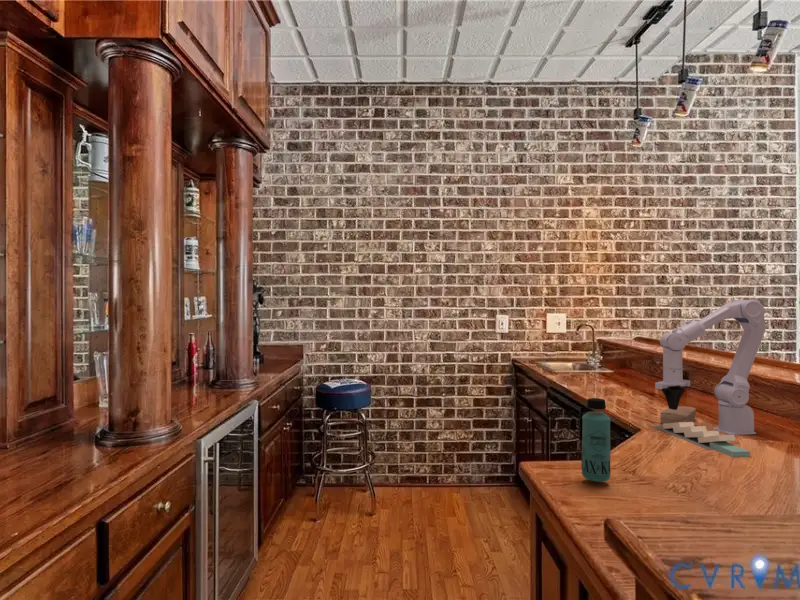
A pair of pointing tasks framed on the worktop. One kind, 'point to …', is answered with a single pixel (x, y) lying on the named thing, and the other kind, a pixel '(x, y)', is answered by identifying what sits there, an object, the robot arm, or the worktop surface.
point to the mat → (682, 436)
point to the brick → (678, 415)
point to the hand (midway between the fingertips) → (673, 409)
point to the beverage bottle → (596, 442)
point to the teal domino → (729, 449)
